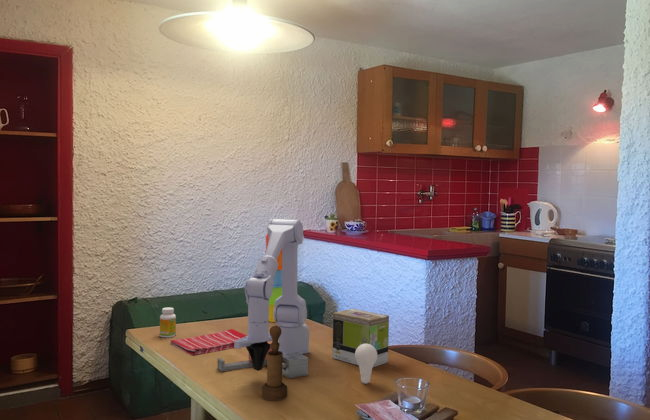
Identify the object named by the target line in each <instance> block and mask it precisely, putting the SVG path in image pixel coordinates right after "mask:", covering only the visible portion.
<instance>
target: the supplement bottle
mask: <svg viewBox="0 0 650 420" xmlns="http://www.w3.org/2000/svg"><path fill="white" fill-rule="evenodd" d="M174 312H175V309H174V307H169V306H168V307H163V308H162V309H161V315H160V316H159V337H161V338H166V339H167V338H168V339H169V338H174V337H175V336H176V331H177V321H176V319H177V317H176V316H177V315H176V314H175V313H174Z"/></svg>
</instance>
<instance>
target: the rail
mask: <svg viewBox="0 0 650 420" xmlns="http://www.w3.org/2000/svg"><path fill="white" fill-rule="evenodd" d="M225 362H226V361H225V360H224V359H223V358H222V357H219V358H217V370H218V371H219V372H221V373H222V372H223V373H224V372H226V371H227V372H228V371H233V370H239V369H247V368H251V367H253V363H252V361H251V360H249V359H248V360H242V361H235V362H228V363H225Z"/></svg>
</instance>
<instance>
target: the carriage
mask: <svg viewBox="0 0 650 420" xmlns="http://www.w3.org/2000/svg"><path fill="white" fill-rule="evenodd" d="M268 343H269V344H270V349H269V351H268V352H270V351H272V349H271V343H272V342H271V341H268ZM268 352H267V353H268ZM248 360H251V356H250V354H249V353H248ZM251 361H252V360H251ZM263 366H267V354H266V357H265V359H264V363H263ZM263 366H262V367H263Z"/></svg>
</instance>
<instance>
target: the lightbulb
mask: <svg viewBox="0 0 650 420" xmlns="http://www.w3.org/2000/svg"><path fill="white" fill-rule="evenodd" d="M355 358H356V361H357V363H358V365H357V366H358V367H359V373H360V381H361V383H362V384H364V385H365V384H366V385H367V384H368V383H370V382H371V376H372V371H373V368H374V367H373V365H374V363H375V362H376V360H377V351H376V349H375V348H374V347H373V346H372V345H370V344H362V345H360V346H359V347H358V348H357V349H356V351H355ZM372 367H373V368H372Z"/></svg>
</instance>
